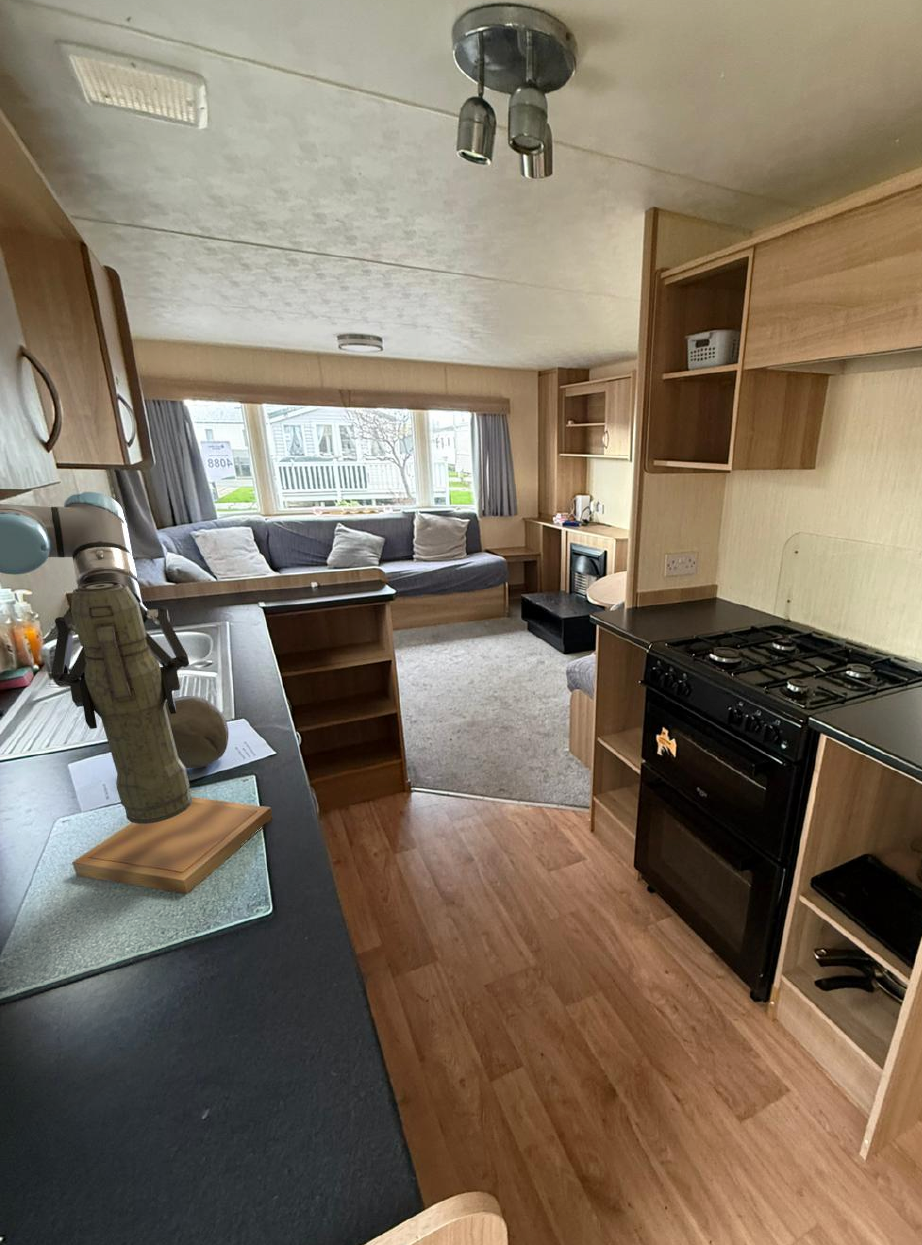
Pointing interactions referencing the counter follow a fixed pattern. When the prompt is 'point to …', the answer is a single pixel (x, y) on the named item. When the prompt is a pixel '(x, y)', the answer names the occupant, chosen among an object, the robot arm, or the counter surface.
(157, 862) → the oak board
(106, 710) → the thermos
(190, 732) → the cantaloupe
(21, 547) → the robot arm
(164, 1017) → the counter surface
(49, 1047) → the counter surface
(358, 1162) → the counter surface
